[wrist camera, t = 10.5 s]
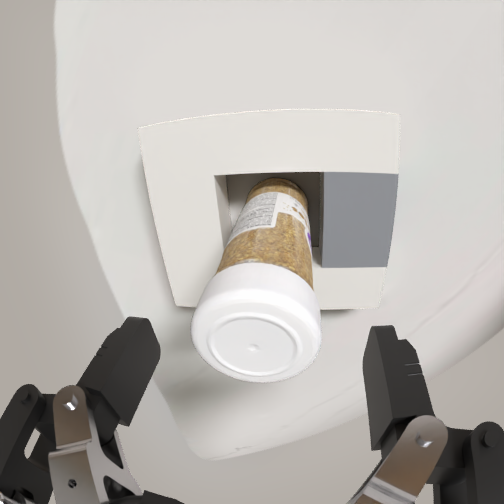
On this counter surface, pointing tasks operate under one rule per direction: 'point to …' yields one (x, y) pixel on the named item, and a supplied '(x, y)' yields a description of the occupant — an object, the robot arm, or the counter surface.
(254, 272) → the sprinkles bottle
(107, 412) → the robot arm
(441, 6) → the counter surface
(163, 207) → the housing
